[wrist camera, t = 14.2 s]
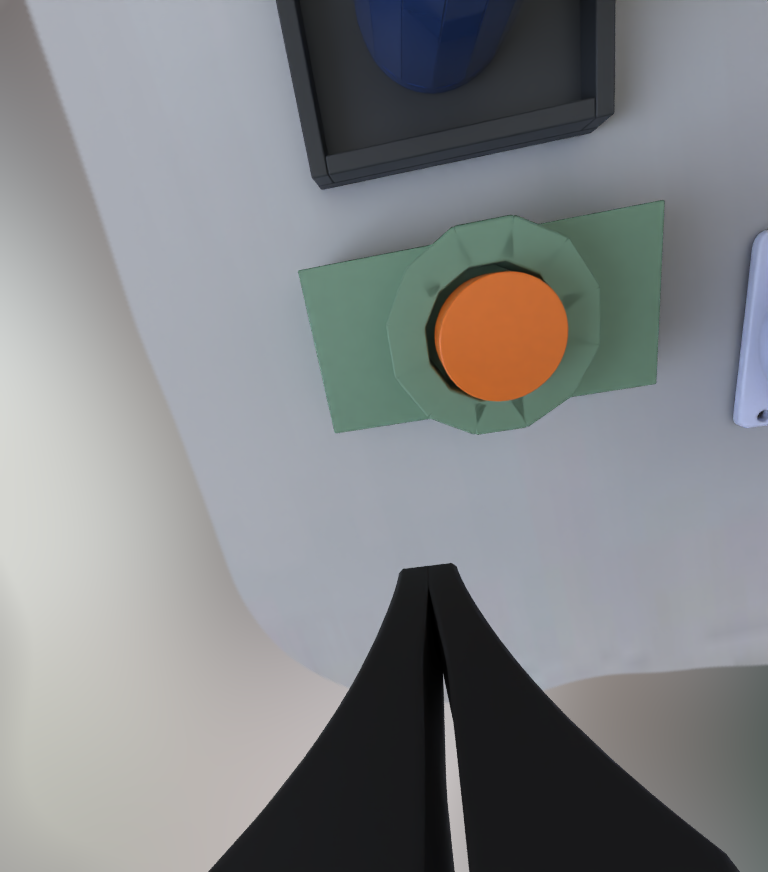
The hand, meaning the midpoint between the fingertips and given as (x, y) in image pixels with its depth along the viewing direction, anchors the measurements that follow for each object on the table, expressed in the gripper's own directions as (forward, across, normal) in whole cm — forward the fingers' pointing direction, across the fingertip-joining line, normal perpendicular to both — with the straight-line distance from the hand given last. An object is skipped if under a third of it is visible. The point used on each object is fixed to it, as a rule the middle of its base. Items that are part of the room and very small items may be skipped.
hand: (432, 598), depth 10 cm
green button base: (+10, -3, -6) cm, 12 cm away
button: (+5, -3, -5) cm, 8 cm away
